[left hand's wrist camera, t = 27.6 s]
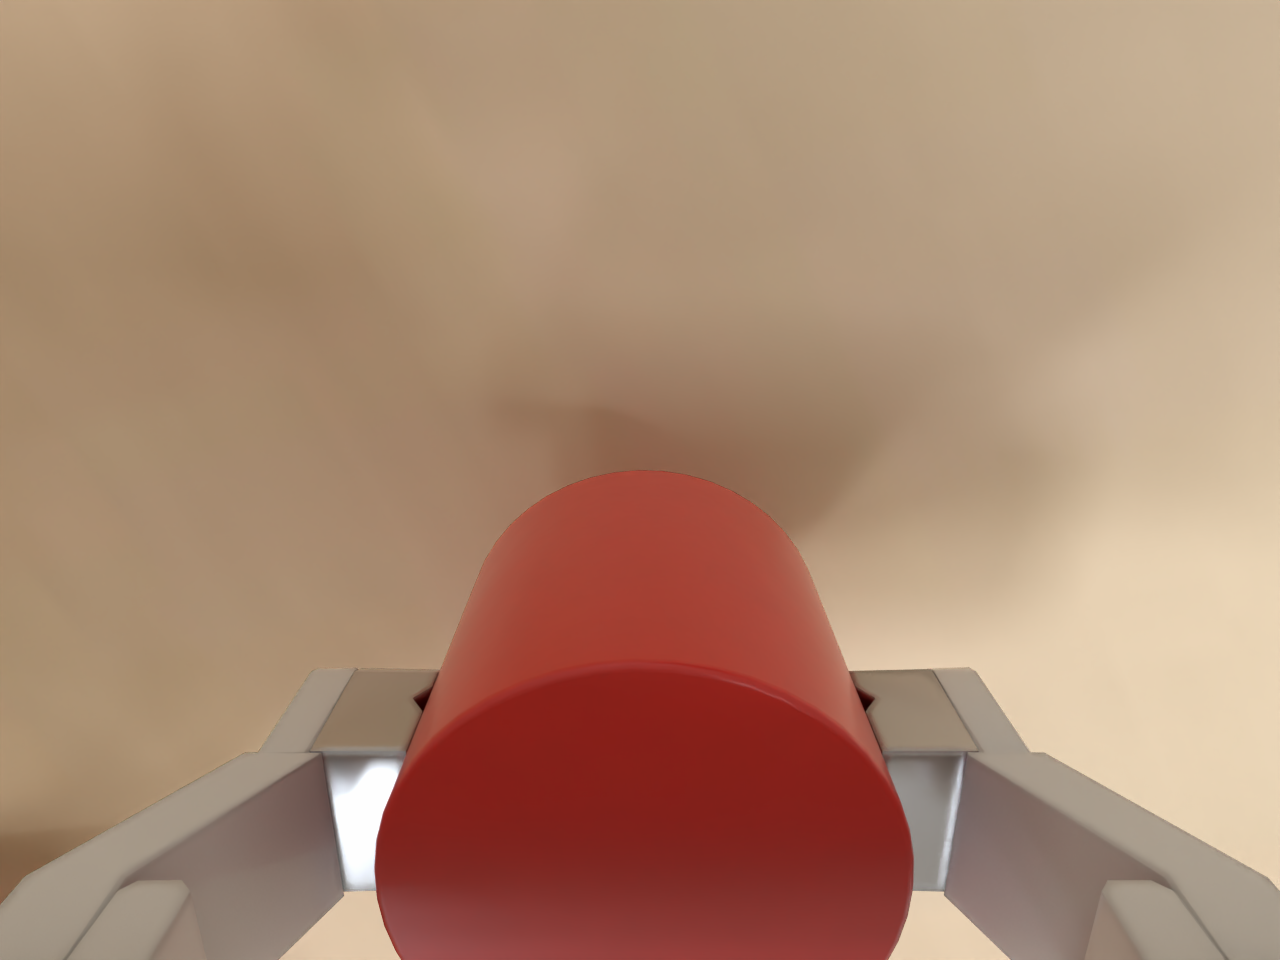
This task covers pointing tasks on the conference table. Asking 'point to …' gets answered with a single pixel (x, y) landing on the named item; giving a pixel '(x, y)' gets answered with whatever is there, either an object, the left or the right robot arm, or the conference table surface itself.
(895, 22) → the conference table surface
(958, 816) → the left robot arm
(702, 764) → the canister
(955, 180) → the conference table surface
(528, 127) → the conference table surface
